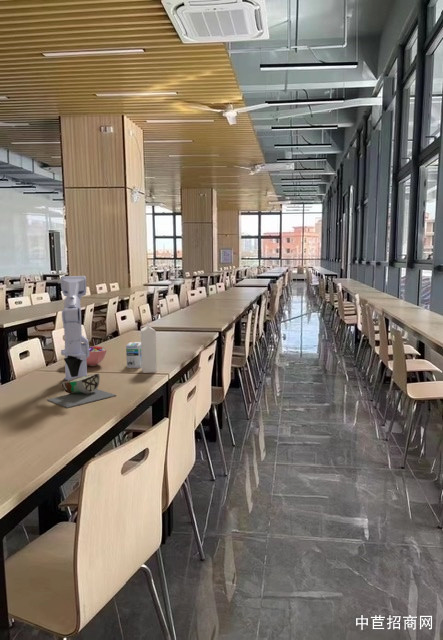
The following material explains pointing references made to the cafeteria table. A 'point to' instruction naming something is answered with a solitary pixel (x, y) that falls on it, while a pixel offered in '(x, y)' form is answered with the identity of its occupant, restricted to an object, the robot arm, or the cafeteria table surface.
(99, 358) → the cell model
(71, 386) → the food container
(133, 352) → the light bulb box
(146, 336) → the milk
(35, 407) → the cafeteria table surface
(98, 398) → the mat
